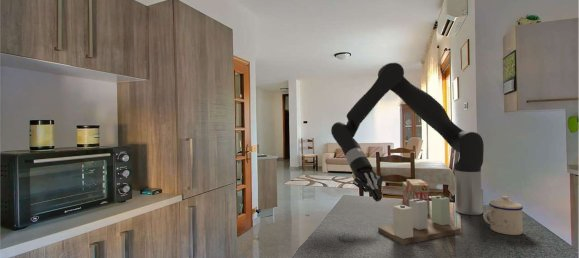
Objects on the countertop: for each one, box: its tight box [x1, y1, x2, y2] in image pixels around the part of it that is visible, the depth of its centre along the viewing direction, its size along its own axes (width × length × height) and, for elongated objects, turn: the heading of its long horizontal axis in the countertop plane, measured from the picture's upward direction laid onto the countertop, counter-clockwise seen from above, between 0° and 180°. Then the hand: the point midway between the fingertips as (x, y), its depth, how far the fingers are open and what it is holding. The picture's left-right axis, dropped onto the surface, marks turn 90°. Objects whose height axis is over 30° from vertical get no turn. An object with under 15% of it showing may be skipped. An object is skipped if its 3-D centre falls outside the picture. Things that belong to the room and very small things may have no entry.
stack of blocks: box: [401, 178, 430, 215], centre depth 125 cm, size 21×6×12 cm, turn 170°
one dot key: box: [392, 204, 413, 239], centre depth 89 cm, size 4×4×9 cm
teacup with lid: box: [482, 195, 524, 236], centre depth 95 cm, size 12×9×12 cm
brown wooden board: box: [377, 217, 462, 246], centre depth 96 cm, size 24×12×2 cm, turn 110°
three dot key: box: [409, 199, 429, 230], centre depth 96 cm, size 4×4×9 cm
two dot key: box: [430, 195, 451, 225], centre depth 99 cm, size 4×4×9 cm
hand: (379, 200), depth 100 cm, fingers closed
